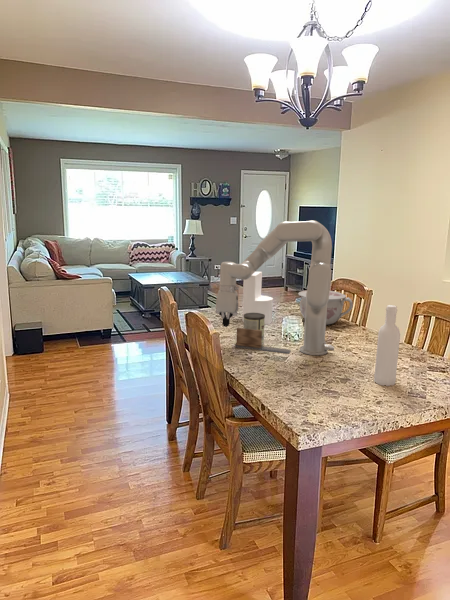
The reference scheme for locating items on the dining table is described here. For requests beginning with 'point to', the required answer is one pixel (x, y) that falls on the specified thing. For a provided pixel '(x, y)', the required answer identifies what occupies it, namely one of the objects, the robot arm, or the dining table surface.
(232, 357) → the dining table surface
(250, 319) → the coffee can
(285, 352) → the grey flat strip
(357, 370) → the dining table surface
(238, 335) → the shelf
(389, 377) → the bottle
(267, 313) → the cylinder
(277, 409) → the dining table surface
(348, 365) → the dining table surface
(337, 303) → the chamber pot
